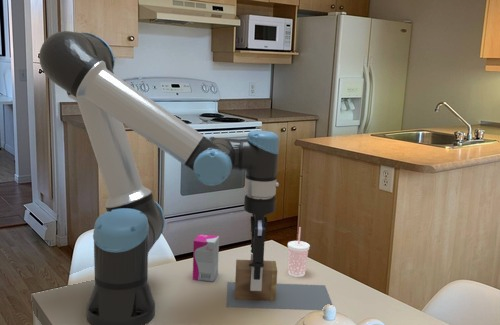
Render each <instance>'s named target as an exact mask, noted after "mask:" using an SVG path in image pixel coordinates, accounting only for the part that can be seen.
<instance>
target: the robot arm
mask: <svg viewBox="0 0 500 325" xmlns="http://www.w3.org/2000/svg"><path fill="white" fill-rule="evenodd" d="M38 57H39V63H40V67H41V69H42V71H43V73H44V74H45V76H46V77H47V78H48V79H49V80H50V81H51V82H53V84H55V85H56V86H58V87H60V88H61V89H63V90H64V91H66V95H67V97H68V98H69V99H71V100H73V101H74V102H76V103H77V105H78V106H77V107H78V108H79V111H80V114H81V117H82V120H83V123H84V126H85V129H86V132H87V134H88V138H89V141H90V144H91V147H92V150H93V152H94V153H93V154H94V155H95V159H96V162H97V166H98V169H99V171H100V174H101V177H102V180H103V183H104V186H105V189H106V192H107V195H108V198H107V200H106V203H105V204H104V207H105V210H106V212H103V213H102V214H101V215H99V216H97V218H96V220H95V223H94V224H93V226H94V228H93V235H92V237H93V252H94V253H93V255H94V256H93V258H94V260H93V262H94V263H93V264H94V285H93V288H92V291H91V294H90V297H89V300H88V303H87V304H86V305H87V306H86V318H87V320H88V322H89V324H91V325H146V324H147V323H149V322H150V321H151V320H152V319H153V318H154V316H155V313H156V302H155V298H154V296H153V293H152V290H151V286H150V285H149V280H148V276H149V275H148V272H149V270H148V268H149V267H148V266H149V264H148V263H149V262H148V260H149V252H150V251H151V250H152V248H153V247H154V245H155V243H156V242H157V241H158V240H159V239H160V237H161V235H162V234H163V231H164V228H165V213H164V210H163V208H162V206H161V205H160V204H159V203H158V202H157V201H155V198H154V195H153V192H152V190H151V189H149V188H147V187H145V186H144V185H143V181H142V178H141V176H140V175H141V174H140V172H139V169H138V166H137V162H136V160H135V157H134V154H133V149H132V147H131V144H130V140H129V137H128V135H127V132H126V129H125V126H126V127H128V128H129V129H130V130H132V131H134V132H135V133H137V134H138V135H139V136H141V137H142V138H144V139H146V140H147V141H148V142H150V143H151V144H153V145H155V146H156V147H157V148H158V149H160V150H161V151H164V153H166V154H168V155H169V156H171V157H173V158H174V159H175V160H177V161H178V162H179V163H180V164H183V165H184V166H186V168H188V169H190V170H191V171H193V172H194V173H193V174H194V176H195V177H196V178H197V180H198V181H199V182H200V183H201V184H204V185H205V186H210V187H211V186H218V185H221V184H222V183H223V182H225V181H226V180H227V179H228V177H230V175H231V173H232V171H240V172H241V171H245V178H244V194H245V195H244V200H243V202H244V204H243V206H244V207H243V208H244V211H245V212H247V213H249V214H252V216H250V232H251V241H250V242H251V244H250V248H251V250H250V260H253V262H252V264H249V266H251V285H250V291H261V290H262V272H263V266H264V264H263V261H265V260H264V258H265V256H264V255H265V241H266V240H265V238H267V237H266V236H267V227H268V217H267V216H266V215H270V214H273V213H274V212H275V211H276V200H277V199H276V197H275V196H276V192H277V188H276V187H279V186H280V183H279V182H278V181H277V177H278V166H279V149H280V148H279V147H280V145H279V143H280V141H279V140H280V137H279V135H278V134H277V133H276V132H274V131H267V130H251V131H248V133H247V136H246V138H227V137H225V138H224V137H215V136H209V137H206V136H205V135H203V134H202V133H201V132H199V131H198V130H196V129H195V128H193V127H191V126H190V125H189V124H187V123H186V122H185V121H183V120H182V119H180V118H179V117H178V116H175V115H174V114H172V113H171V112H170V111H169V110H167V109H166V108H164V107H163V106H161V105H160V104H158V103H156V102H155V101H154V100H152V99H151V98H149V97H148V96H147V95H145V94H144V93H143V92H141V91H139V90H138V89H136V88H135V87H133V86H132V85H131V84H129V83H128V82H126V81H125V80H123V79H122V78H120V77H119V76H118V75H116V74H115V73H114V68H115V62H116V61H115V55H114V52H113V50H112V47H111V46H110V45H109V44H108V43H107V42H106V41H105V40H104V39H103V38H101V37H100V36H98V35H96V34H94V33H89V32H83V31H82V32H76V31H69V30H64V31H58V32H55V33H52V34H51V35H49V36H48V37H47V38H46V39H45V40H44V42H43V43H42V45H41V47H40V49H39V55H38Z"/></svg>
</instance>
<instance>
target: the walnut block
mask: <svg viewBox="0 0 500 325" xmlns="http://www.w3.org/2000/svg"><path fill="white" fill-rule="evenodd" d="M252 262H253V260H251V259H235V279H234V282H235V300H262V301H275V300H276V284H278V283H277V282H278V281H277V280H278V267H277V261H276V260H264V261H263V264H264V266H263V272H262V290H261V291H250V285H251V266H249V264H252Z"/></svg>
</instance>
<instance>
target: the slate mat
mask: <svg viewBox="0 0 500 325" xmlns="http://www.w3.org/2000/svg"><path fill="white" fill-rule="evenodd" d="M226 283H227V284H226V286H227V288H226V308H237V309H241V308H242V309H266V310H267V309H269V310H271V309H272V310H300V311H301V310H303V311H323V310H322V309H323V307H324V306H325V305H327V304H330V305H333V303H332V300H331V296H330V294H329V293H328V290H327V286H326V285H324V284H300V283H299V284H298V283H297V284H296V283H277V284H276V300H275V301H262V300H235V281H227V282H226Z"/></svg>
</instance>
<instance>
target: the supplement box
mask: <svg viewBox="0 0 500 325" xmlns="http://www.w3.org/2000/svg"><path fill="white" fill-rule="evenodd" d="M192 249H193V251H192V253H193V255H192V256H193V257H192V280H193V281H200V282H205V283H206V282H208V283H214V282H215V280H216V278H217V277H218V275H219V255H220V254H219V252H220V251H219V249H220V236H219V235H211V234H202V233H201V234H198V235H197V236H196V238H195V239H194V240H193V248H192Z"/></svg>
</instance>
